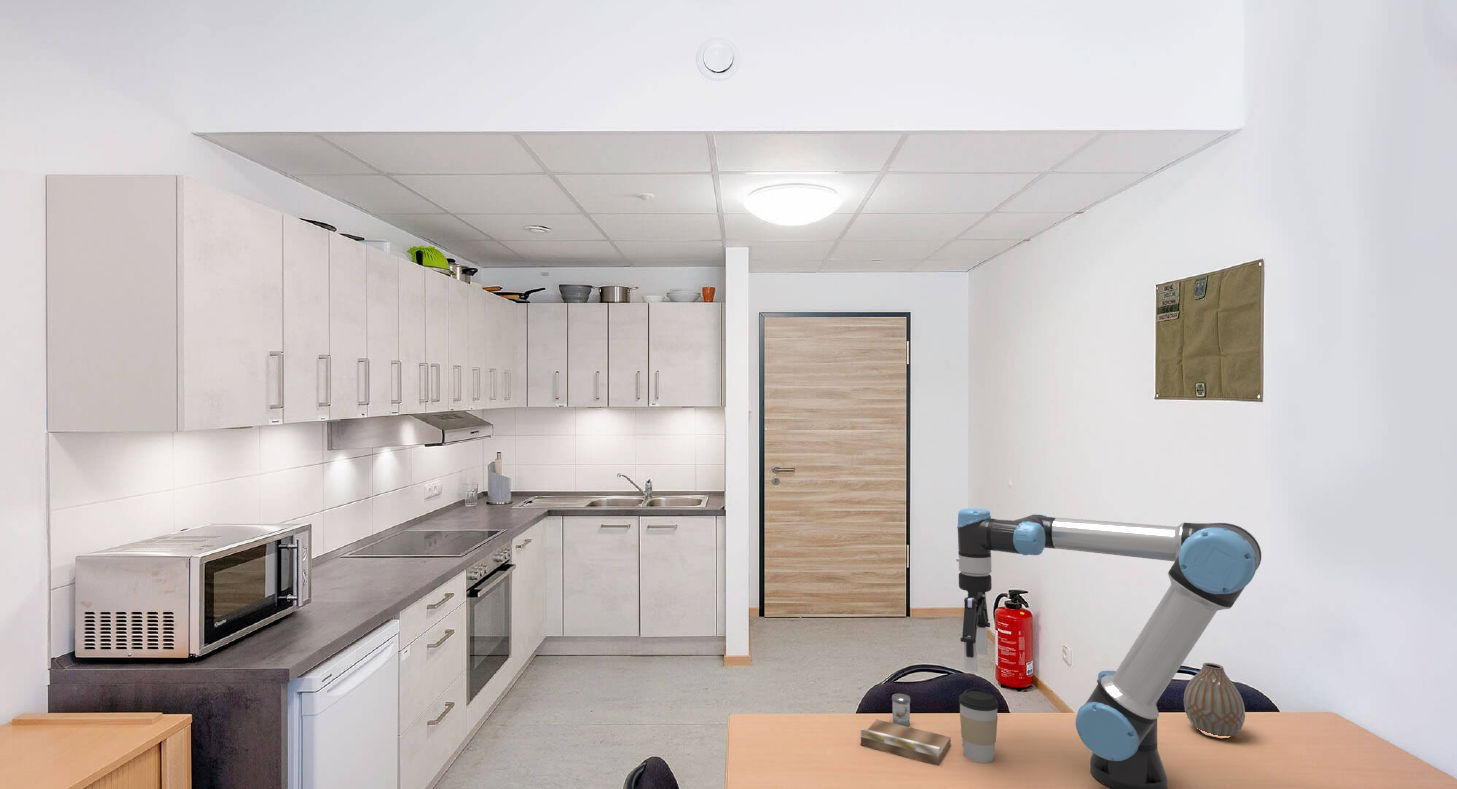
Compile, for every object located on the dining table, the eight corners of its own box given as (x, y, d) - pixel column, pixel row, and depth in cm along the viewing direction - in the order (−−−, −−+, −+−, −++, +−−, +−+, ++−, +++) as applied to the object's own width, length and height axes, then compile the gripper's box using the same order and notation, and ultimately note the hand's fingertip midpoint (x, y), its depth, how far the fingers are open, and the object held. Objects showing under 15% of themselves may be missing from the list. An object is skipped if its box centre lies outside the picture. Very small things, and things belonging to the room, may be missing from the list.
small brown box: (950, 745, 171) (950, 729, 171) (938, 766, 161) (938, 749, 161) (876, 727, 181) (876, 712, 181) (860, 745, 170) (860, 729, 170)
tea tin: (912, 723, 183) (912, 695, 184) (907, 730, 179) (907, 701, 180) (895, 719, 186) (895, 692, 186) (889, 725, 182) (889, 698, 182)
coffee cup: (1001, 767, 160) (1001, 701, 161) (961, 762, 162) (961, 698, 163) (995, 749, 169) (994, 687, 170) (956, 745, 171) (956, 684, 172)
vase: (1172, 725, 184) (1171, 659, 185) (1208, 719, 188) (1207, 654, 188) (1220, 748, 171) (1219, 676, 172) (1258, 741, 175) (1257, 671, 176)
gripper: (968, 562, 180) (970, 645, 179) (947, 581, 159) (949, 675, 158) (999, 565, 176) (1001, 649, 175) (981, 584, 155) (983, 680, 154)
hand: (976, 662), depth 166 cm, fingers open, 13 cm apart
